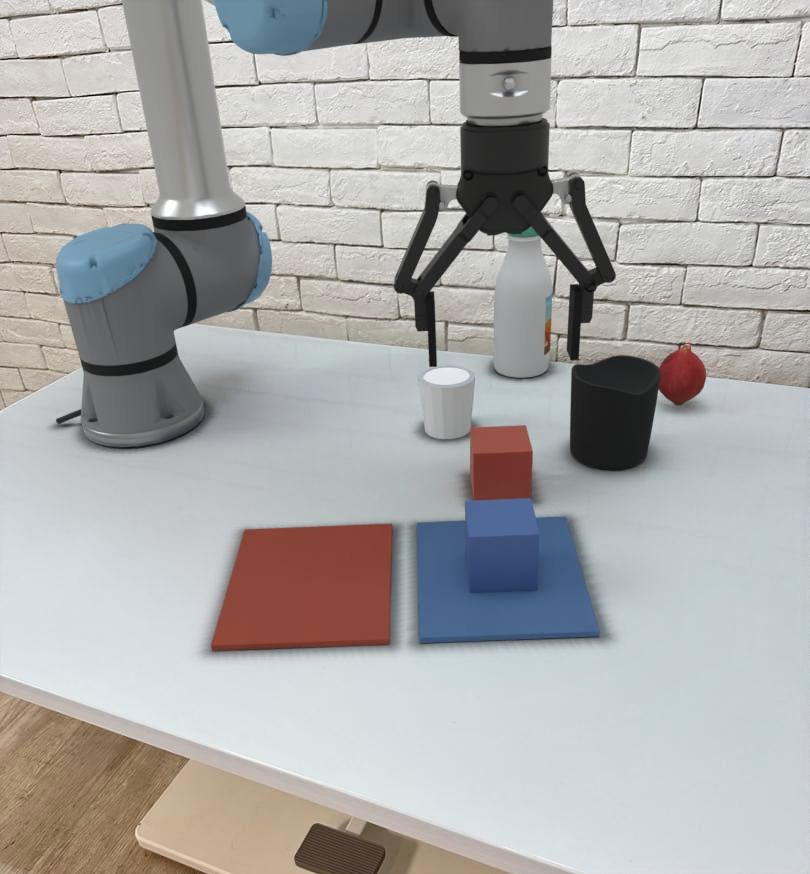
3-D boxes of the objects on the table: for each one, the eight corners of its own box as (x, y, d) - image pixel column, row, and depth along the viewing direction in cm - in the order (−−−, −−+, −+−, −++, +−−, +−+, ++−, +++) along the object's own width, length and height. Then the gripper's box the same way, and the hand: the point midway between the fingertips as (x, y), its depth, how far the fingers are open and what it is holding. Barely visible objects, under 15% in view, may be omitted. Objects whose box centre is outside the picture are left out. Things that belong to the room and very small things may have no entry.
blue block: (469, 593, 76) (468, 536, 72) (465, 554, 81) (464, 500, 77) (537, 590, 76) (539, 534, 72) (529, 552, 81) (531, 497, 77)
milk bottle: (534, 383, 115) (540, 229, 104) (483, 373, 118) (484, 224, 107) (558, 363, 120) (565, 215, 109) (508, 354, 124) (511, 210, 113)
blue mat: (419, 643, 71) (418, 637, 71) (417, 527, 86) (416, 522, 86) (599, 636, 71) (599, 631, 71) (565, 521, 86) (565, 516, 86)
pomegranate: (650, 411, 106) (657, 349, 101) (657, 393, 110) (664, 333, 106) (698, 417, 104) (708, 354, 99) (703, 398, 108) (713, 337, 104)
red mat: (211, 650, 72) (210, 645, 72) (245, 534, 87) (244, 529, 87) (389, 644, 71) (388, 638, 71) (392, 528, 86) (392, 523, 86)
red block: (473, 504, 90) (473, 453, 86) (470, 476, 95) (469, 427, 91) (531, 501, 89) (532, 451, 86) (524, 474, 94) (525, 424, 91)
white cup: (471, 443, 101) (471, 388, 97) (414, 440, 102) (412, 386, 99) (479, 418, 107) (479, 365, 103) (425, 415, 108) (423, 363, 104)
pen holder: (646, 477, 92) (657, 391, 87) (559, 467, 95) (564, 384, 90) (654, 439, 100) (664, 357, 94) (573, 431, 102) (578, 351, 97)
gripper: (354, 133, 69) (373, 379, 81) (665, 115, 68) (639, 366, 80) (359, 120, 75) (376, 350, 87) (644, 103, 74) (623, 338, 86)
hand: (502, 358), depth 83 cm, fingers open, 13 cm apart
